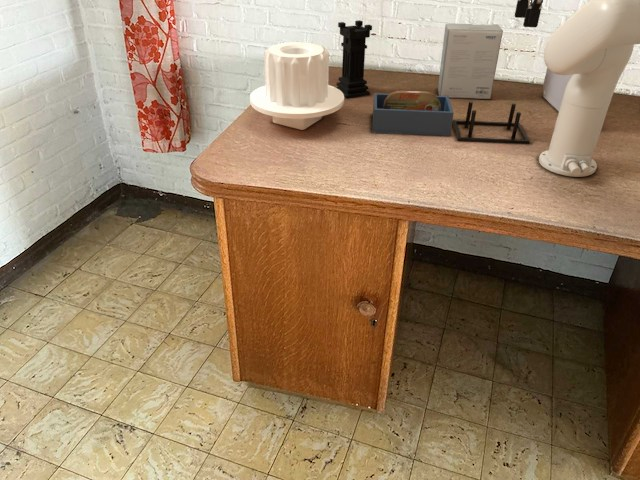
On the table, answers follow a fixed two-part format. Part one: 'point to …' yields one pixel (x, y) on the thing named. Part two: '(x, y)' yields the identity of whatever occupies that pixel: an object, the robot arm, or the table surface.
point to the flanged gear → (296, 85)
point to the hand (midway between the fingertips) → (525, 22)
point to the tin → (412, 101)
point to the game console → (555, 87)
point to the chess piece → (353, 59)
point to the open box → (412, 119)
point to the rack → (509, 124)
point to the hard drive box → (469, 60)
